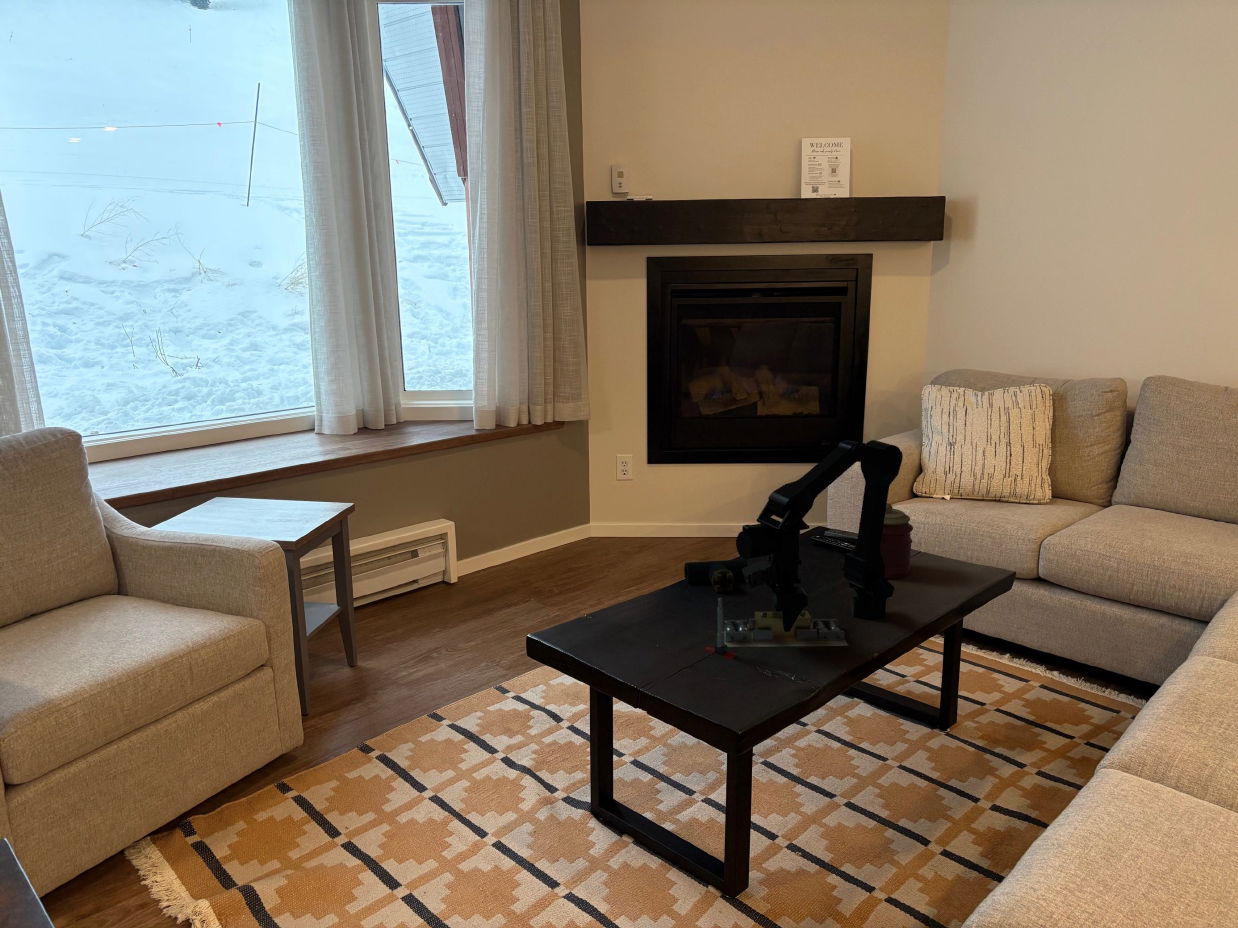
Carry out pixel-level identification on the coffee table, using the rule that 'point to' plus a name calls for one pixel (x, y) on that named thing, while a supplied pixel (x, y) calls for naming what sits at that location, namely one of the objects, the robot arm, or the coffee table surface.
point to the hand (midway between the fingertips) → (782, 622)
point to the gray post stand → (721, 635)
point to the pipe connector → (716, 573)
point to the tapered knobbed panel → (781, 623)
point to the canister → (896, 543)
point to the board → (783, 642)
